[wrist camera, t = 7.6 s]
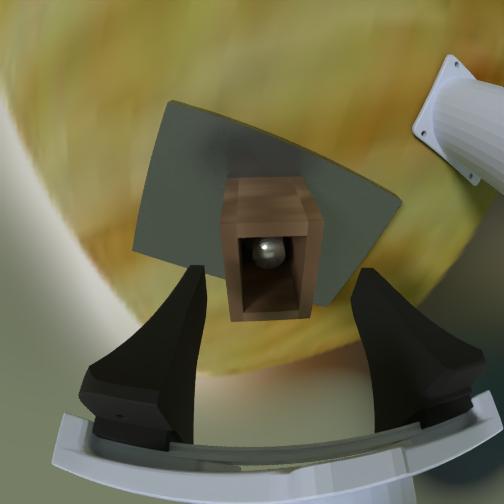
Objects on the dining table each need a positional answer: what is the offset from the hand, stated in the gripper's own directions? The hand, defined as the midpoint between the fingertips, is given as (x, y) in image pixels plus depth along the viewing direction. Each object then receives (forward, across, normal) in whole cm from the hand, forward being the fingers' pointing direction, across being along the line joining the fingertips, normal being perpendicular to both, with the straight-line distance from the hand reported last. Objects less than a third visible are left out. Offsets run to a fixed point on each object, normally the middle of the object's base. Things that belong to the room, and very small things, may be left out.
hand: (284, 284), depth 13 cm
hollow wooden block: (+8, 0, +2) cm, 8 cm away
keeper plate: (+9, 0, +2) cm, 9 cm away
